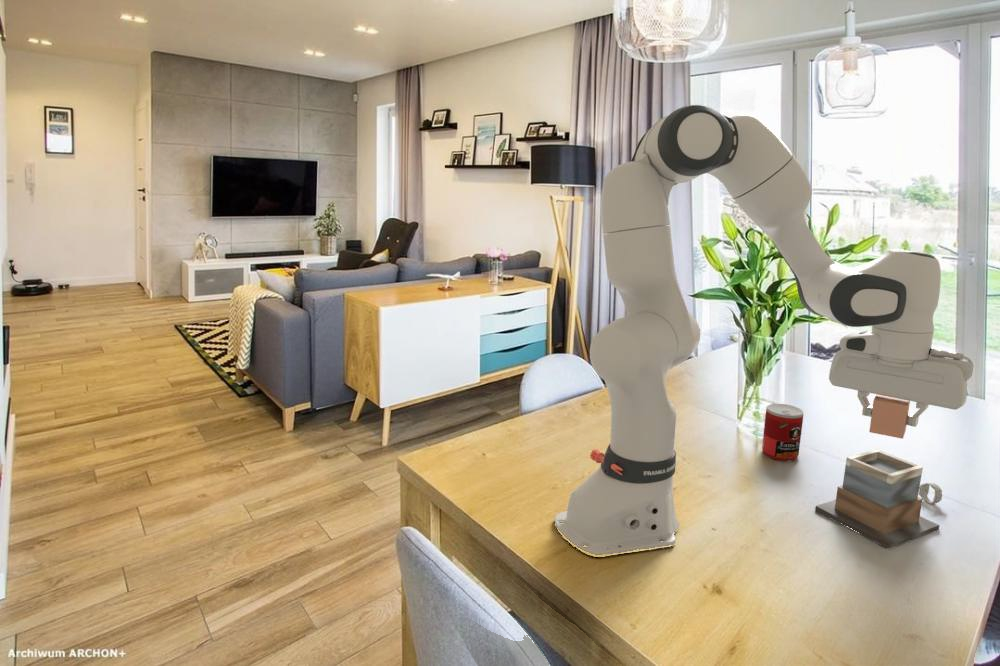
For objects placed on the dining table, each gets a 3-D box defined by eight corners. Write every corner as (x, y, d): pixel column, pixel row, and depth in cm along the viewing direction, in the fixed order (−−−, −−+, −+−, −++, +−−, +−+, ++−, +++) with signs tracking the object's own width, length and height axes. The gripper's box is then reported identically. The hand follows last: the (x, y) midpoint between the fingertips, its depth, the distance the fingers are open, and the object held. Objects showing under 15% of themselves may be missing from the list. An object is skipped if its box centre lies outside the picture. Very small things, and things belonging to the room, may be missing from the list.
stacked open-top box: (888, 549, 102) (898, 486, 99) (815, 510, 114) (822, 454, 112) (938, 530, 108) (949, 470, 105) (863, 495, 120) (871, 441, 117)
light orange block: (869, 432, 107) (873, 400, 106) (873, 424, 111) (877, 392, 109) (902, 438, 104) (907, 405, 103) (905, 430, 108) (910, 398, 106)
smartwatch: (942, 506, 116) (945, 487, 115) (933, 507, 115) (936, 488, 114) (925, 497, 119) (928, 479, 118) (916, 499, 119) (919, 480, 118)
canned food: (777, 463, 134) (783, 417, 132) (754, 449, 142) (758, 405, 139) (806, 459, 136) (812, 413, 134) (781, 445, 144) (786, 402, 141)
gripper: (978, 351, 99) (965, 431, 102) (842, 332, 113) (833, 402, 116) (971, 358, 94) (957, 441, 97) (830, 337, 109) (821, 410, 112)
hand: (889, 420), depth 107 cm, fingers closed on light orange block, 5 cm apart
